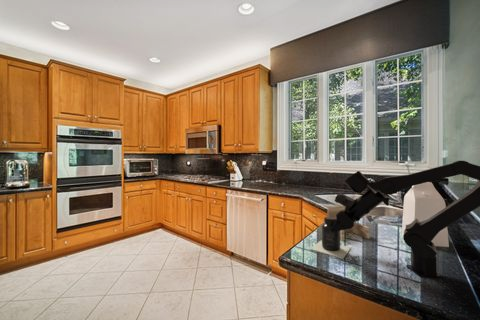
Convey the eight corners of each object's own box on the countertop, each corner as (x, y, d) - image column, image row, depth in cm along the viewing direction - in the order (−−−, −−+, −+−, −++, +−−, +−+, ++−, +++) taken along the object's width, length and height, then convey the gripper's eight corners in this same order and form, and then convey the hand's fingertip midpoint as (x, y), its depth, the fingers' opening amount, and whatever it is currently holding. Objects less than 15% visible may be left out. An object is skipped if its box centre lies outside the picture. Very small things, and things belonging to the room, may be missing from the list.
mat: (350, 248, 85) (350, 247, 85) (343, 258, 76) (343, 257, 76) (320, 241, 93) (320, 240, 93) (310, 249, 83) (310, 248, 83)
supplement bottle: (344, 249, 83) (344, 219, 83) (332, 253, 79) (332, 221, 80) (329, 243, 89) (329, 215, 89) (318, 246, 86) (318, 217, 86)
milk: (432, 237, 97) (431, 181, 98) (448, 247, 86) (447, 183, 87) (401, 235, 101) (401, 180, 101) (413, 243, 90) (413, 182, 90)
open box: (369, 238, 96) (369, 209, 96) (342, 240, 93) (341, 211, 93) (352, 231, 106) (352, 205, 107) (327, 232, 104) (327, 206, 104)
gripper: (353, 184, 87) (326, 208, 94) (342, 188, 73) (311, 216, 80) (376, 205, 82) (346, 229, 89) (368, 215, 68) (333, 241, 75)
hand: (334, 228), depth 83 cm, fingers open, 9 cm apart
